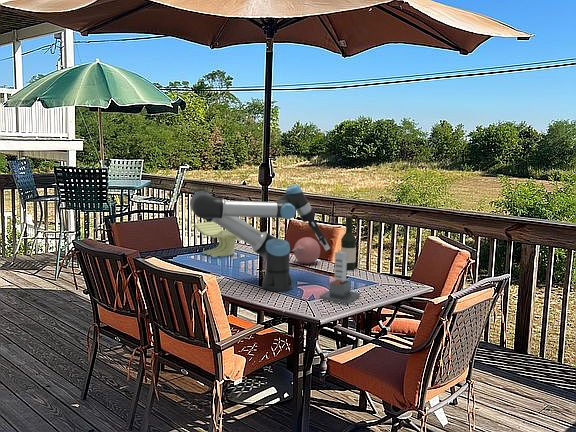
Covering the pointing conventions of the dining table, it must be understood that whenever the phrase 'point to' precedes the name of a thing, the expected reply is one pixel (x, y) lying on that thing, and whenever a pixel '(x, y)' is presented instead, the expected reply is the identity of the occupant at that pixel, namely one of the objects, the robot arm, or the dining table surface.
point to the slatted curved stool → (223, 236)
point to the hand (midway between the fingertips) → (325, 246)
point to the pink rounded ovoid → (306, 250)
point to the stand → (340, 293)
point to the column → (340, 266)
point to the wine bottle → (349, 245)
